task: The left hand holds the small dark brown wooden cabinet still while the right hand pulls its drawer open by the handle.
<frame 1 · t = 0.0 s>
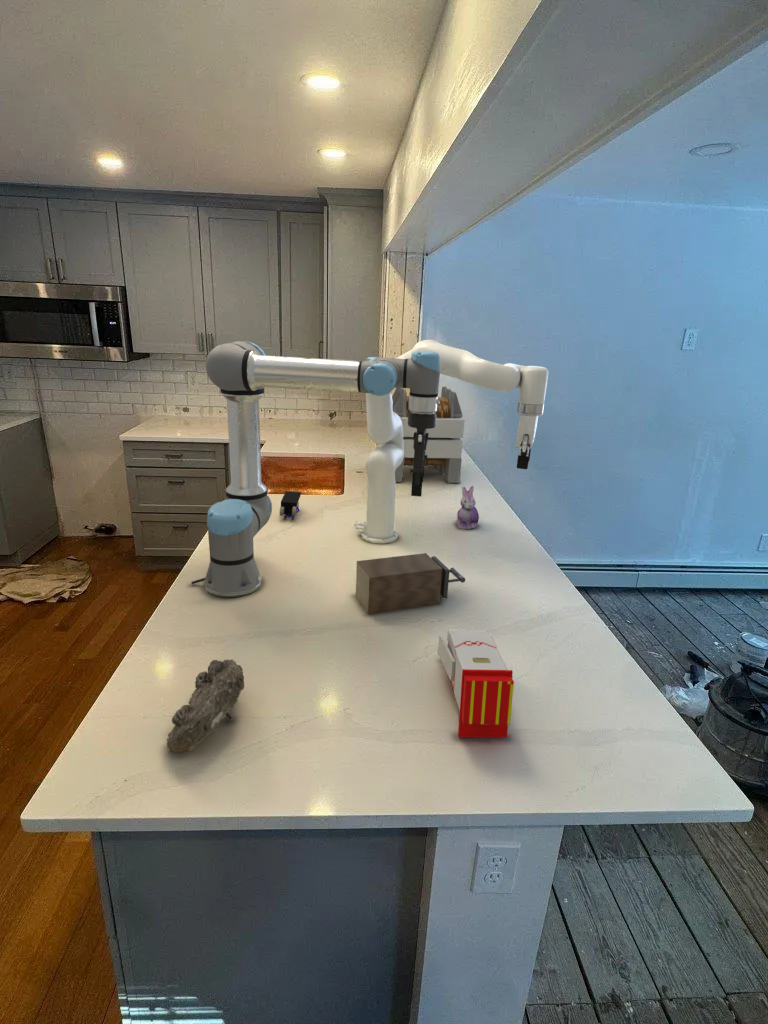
left hand: (417, 488, 157), 28 cm above the counter, tool pointing down, fingers open, 13 cm apart
right hand: (523, 464, 174), 31 cm above the counter, tool pointing down, fingers open, 9 cm apart
cabinet: (397, 599, 155), on the counter
figurine character: (290, 515, 212), on the counter
drawer: (419, 579, 155), point 5 cm above the counter, slide at 1.4 cm
fossil: (212, 717, 108), on the counter
transformer: (419, 473, 275), on the counter
toy: (469, 691, 119), on the counter
figurine: (467, 525, 210), on the counter
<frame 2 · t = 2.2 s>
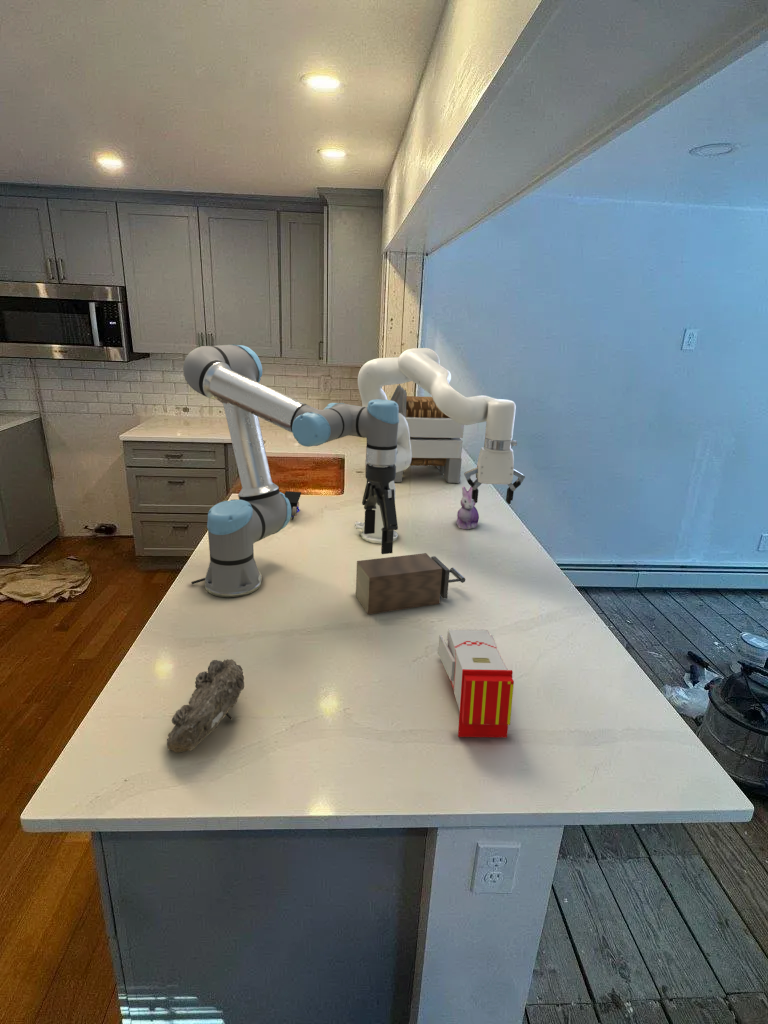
left hand: (377, 542, 147), 17 cm above the counter, tool pointing down, fingers open, 13 cm apart
right hand: (491, 502, 165), 23 cm above the counter, tool pointing down, fingers open, 9 cm apart
nothing on the counter moved.
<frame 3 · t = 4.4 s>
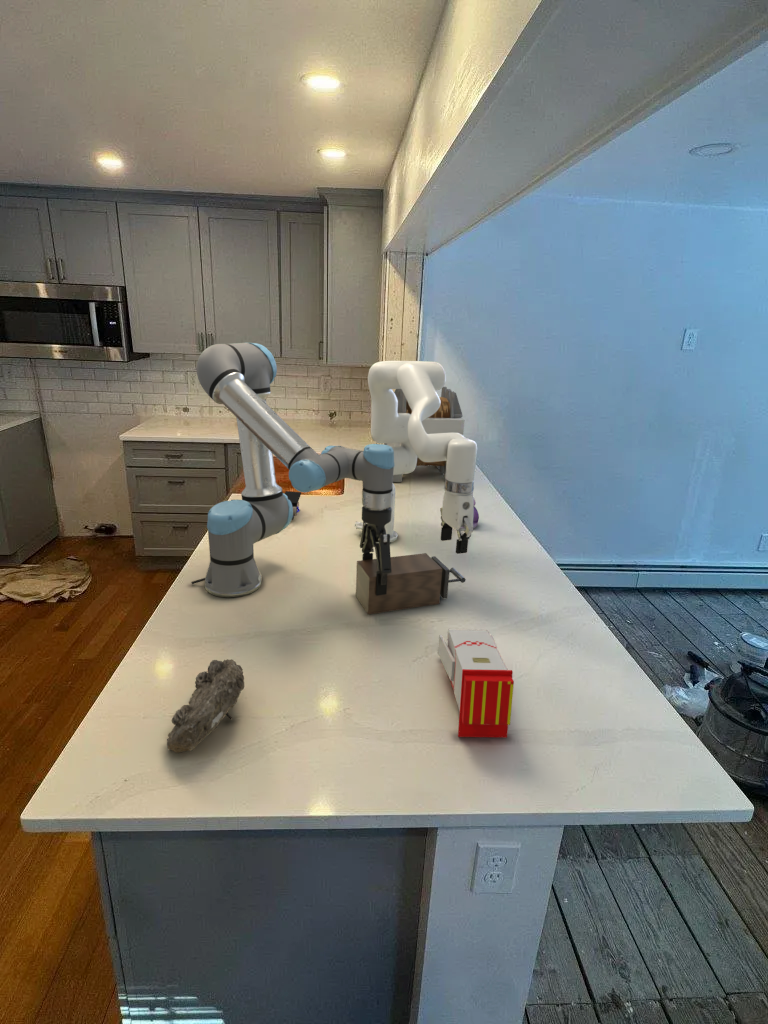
left hand: (373, 584, 150), 6 cm above the counter, tool pointing down, fingers closed on cabinet, 10 cm apart
right hand: (453, 546, 155), 14 cm above the counter, tool pointing down, fingers open, 8 cm apart
cabinet: (397, 599, 155), on the counter, touching left hand
everything else where it was.
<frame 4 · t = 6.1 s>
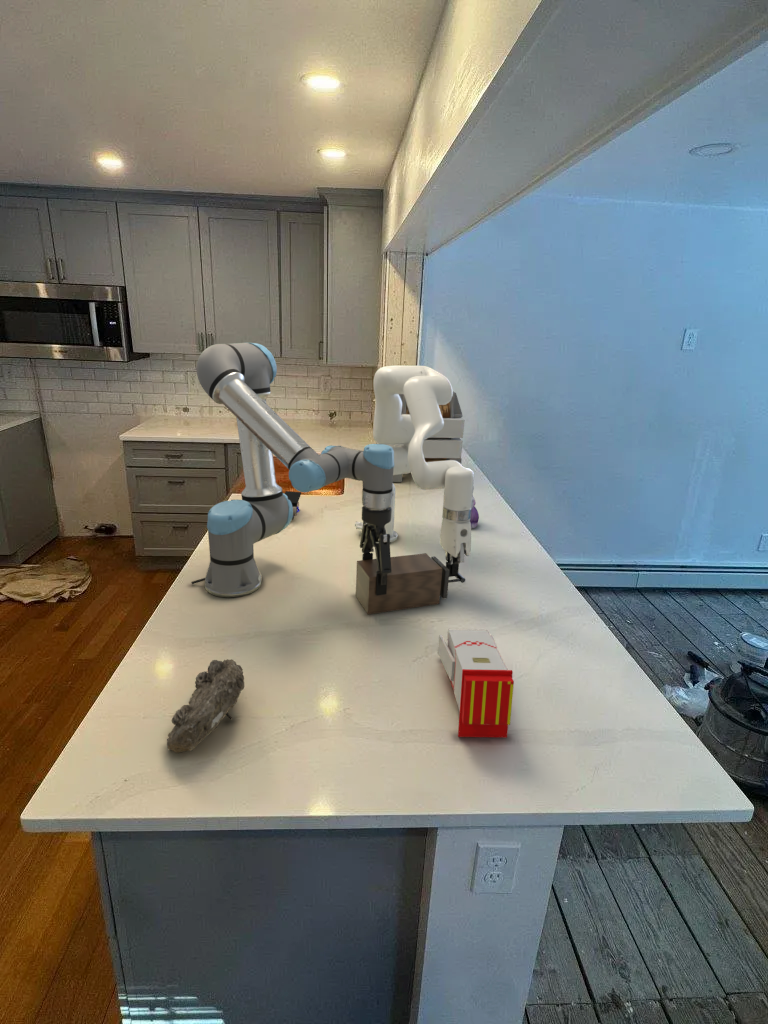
left hand: (373, 584, 150), 6 cm above the counter, tool pointing down, fingers closed on cabinet, 10 cm apart
right hand: (451, 575, 158), 6 cm above the counter, tool pointing down, fingers closed
cabinet: (397, 599, 155), on the counter, touching left hand
drawer: (419, 579, 155), point 5 cm above the counter, slide at 1.4 cm, touching right hand
everything else where it was.
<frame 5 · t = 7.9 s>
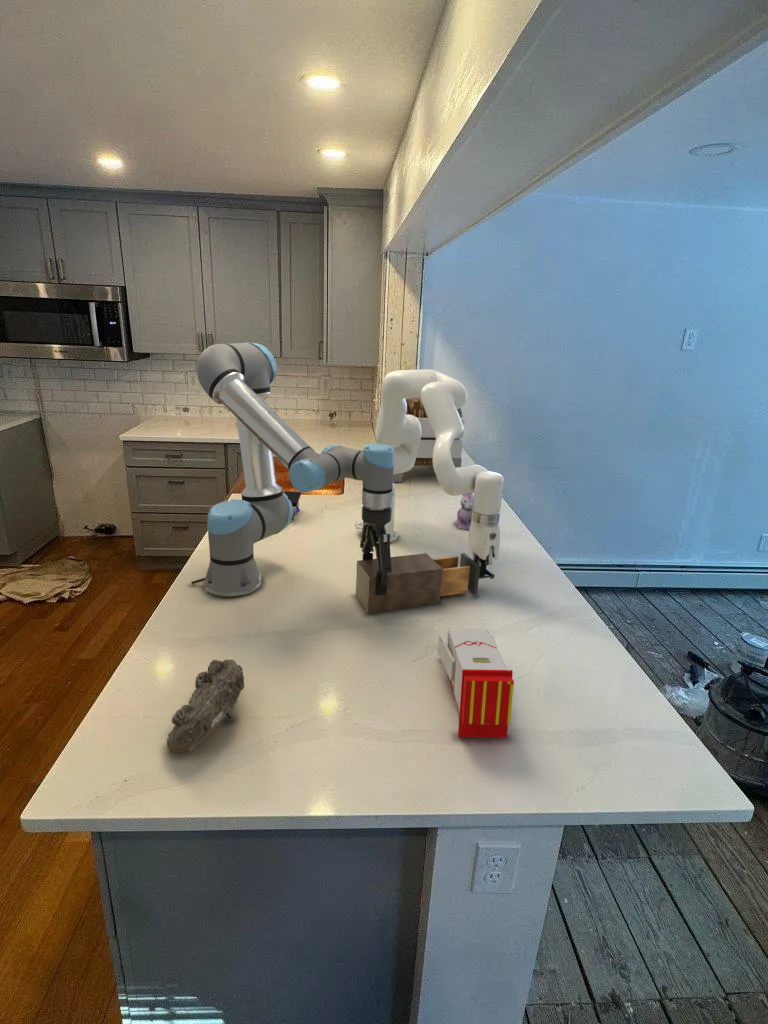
left hand: (373, 584, 150), 6 cm above the counter, tool pointing down, fingers closed on cabinet, 10 cm apart
right hand: (478, 576, 162), 4 cm above the counter, tool pointing down, fingers closed
cabinet: (397, 599, 155), on the counter, touching left hand
drawer: (449, 575, 158), point 5 cm above the counter, slide at 10.7 cm, touching right hand
everything else where it was.
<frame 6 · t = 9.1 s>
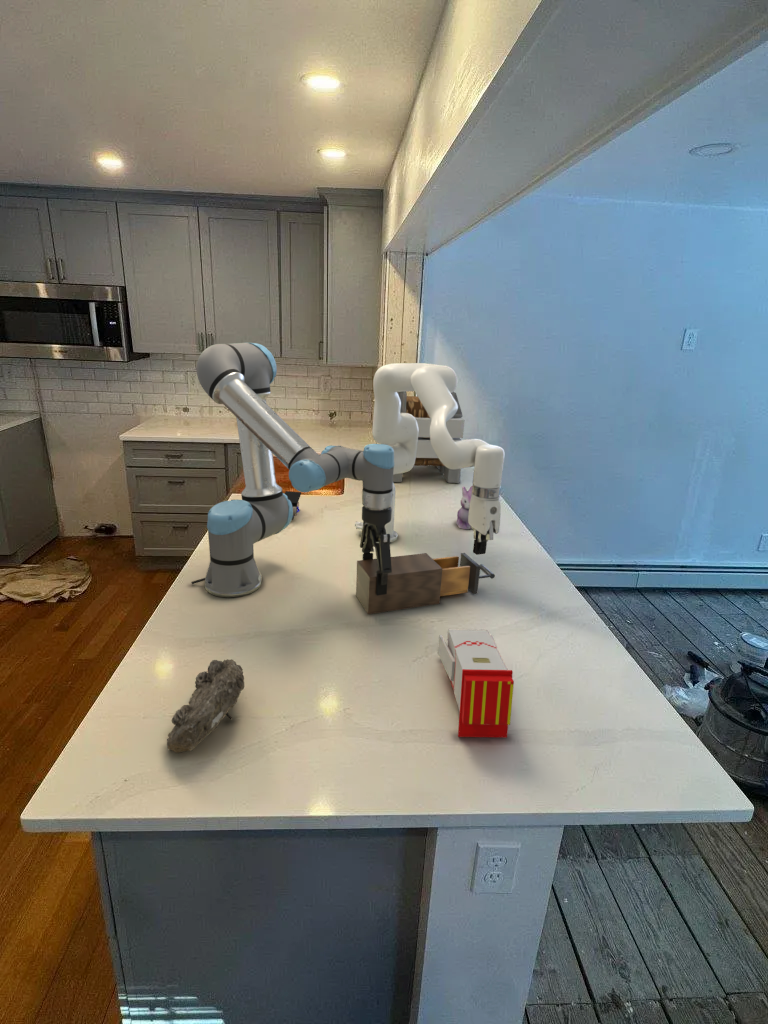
left hand: (374, 584, 150), 6 cm above the counter, tool pointing down, fingers closed on cabinet, 10 cm apart
right hand: (479, 553, 159), 11 cm above the counter, tool pointing down, fingers closed
cabinet: (397, 599, 155), on the counter, touching left hand
drawer: (449, 575, 158), point 5 cm above the counter, slide at 10.8 cm
everything else where it was.
when the left hand's fingers open (6 cm above the counter, at t = 9.8 s): cabinet stays where it is, on the counter.
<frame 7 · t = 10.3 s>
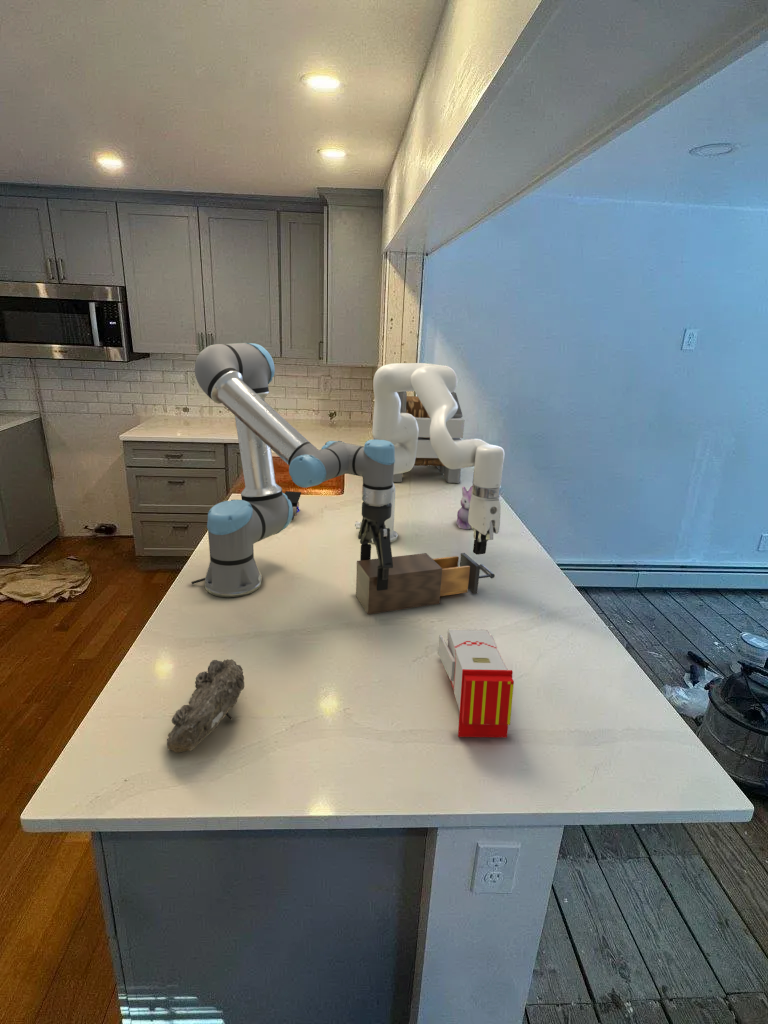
left hand: (373, 577, 150), 8 cm above the counter, tool pointing down, fingers open, 13 cm apart
right hand: (479, 553, 159), 11 cm above the counter, tool pointing down, fingers closed
cabinet: (397, 599, 155), on the counter
everything else where it was.
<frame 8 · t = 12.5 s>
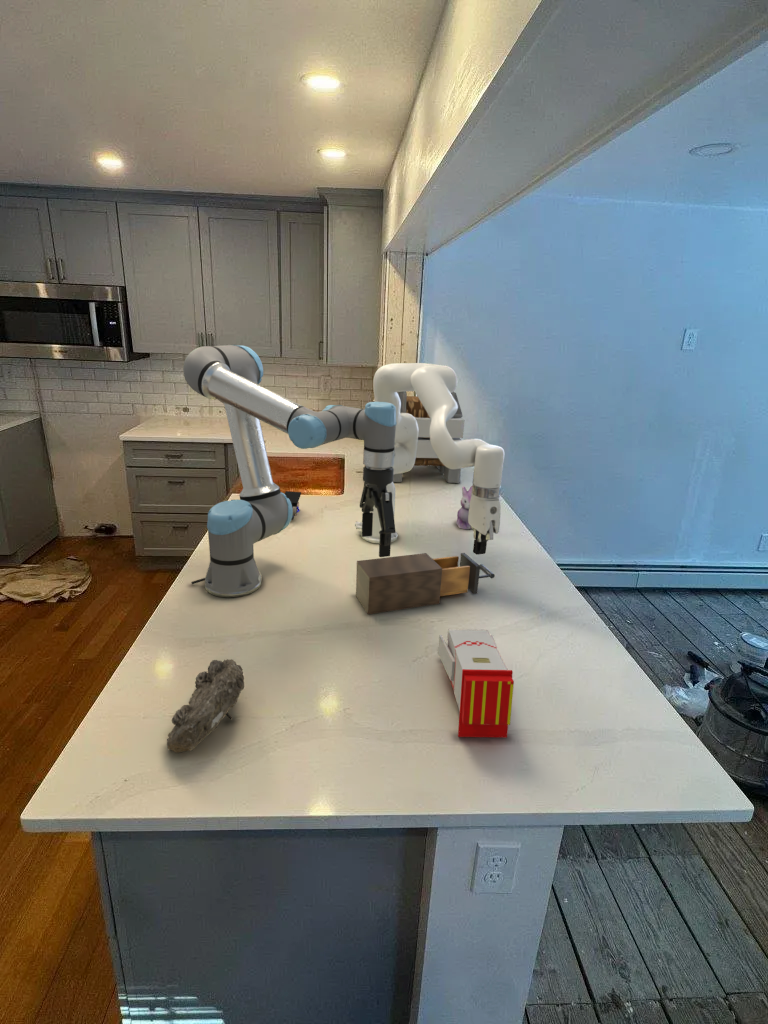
left hand: (375, 545, 147), 17 cm above the counter, tool pointing down, fingers open, 13 cm apart
right hand: (479, 553, 159), 11 cm above the counter, tool pointing down, fingers closed
nothing on the counter moved.
at the end: drawer slide at 10.7 cm; cabinet tilted 0°; cabinet never tilted more than 1° during the clip; cabinet moved 0.1 cm from its start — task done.
